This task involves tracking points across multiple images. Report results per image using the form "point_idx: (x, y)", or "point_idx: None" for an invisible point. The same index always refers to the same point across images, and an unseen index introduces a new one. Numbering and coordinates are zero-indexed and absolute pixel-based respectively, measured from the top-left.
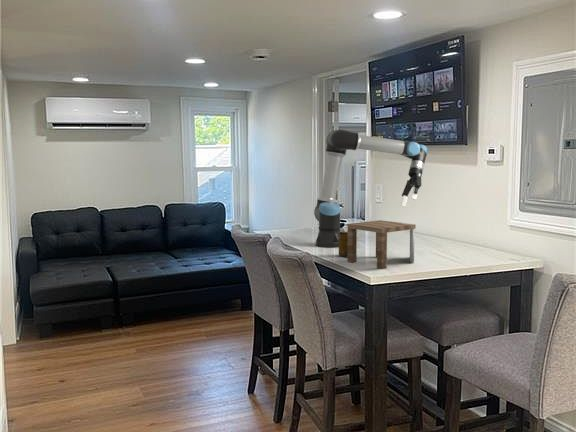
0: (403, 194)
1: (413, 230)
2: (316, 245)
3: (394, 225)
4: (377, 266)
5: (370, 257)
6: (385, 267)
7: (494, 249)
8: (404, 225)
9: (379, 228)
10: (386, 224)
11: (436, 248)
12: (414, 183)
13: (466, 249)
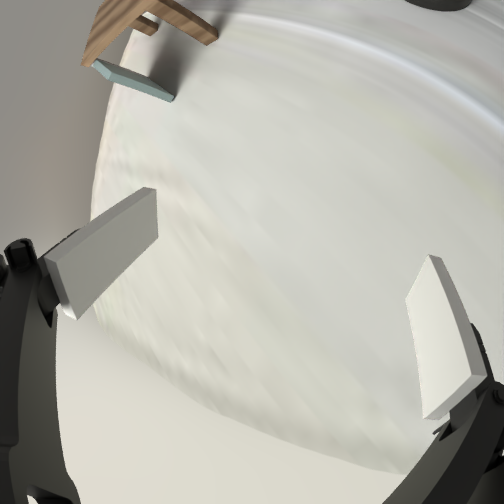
0: (497, 404)
1: (92, 63)
2: None
3: (98, 24)
4: (155, 23)
5: (220, 20)
6: (148, 34)
7: (159, 359)
8: (88, 42)
9: (103, 2)
10: (111, 11)
11: (224, 247)
12: (3, 346)
13: (179, 308)
